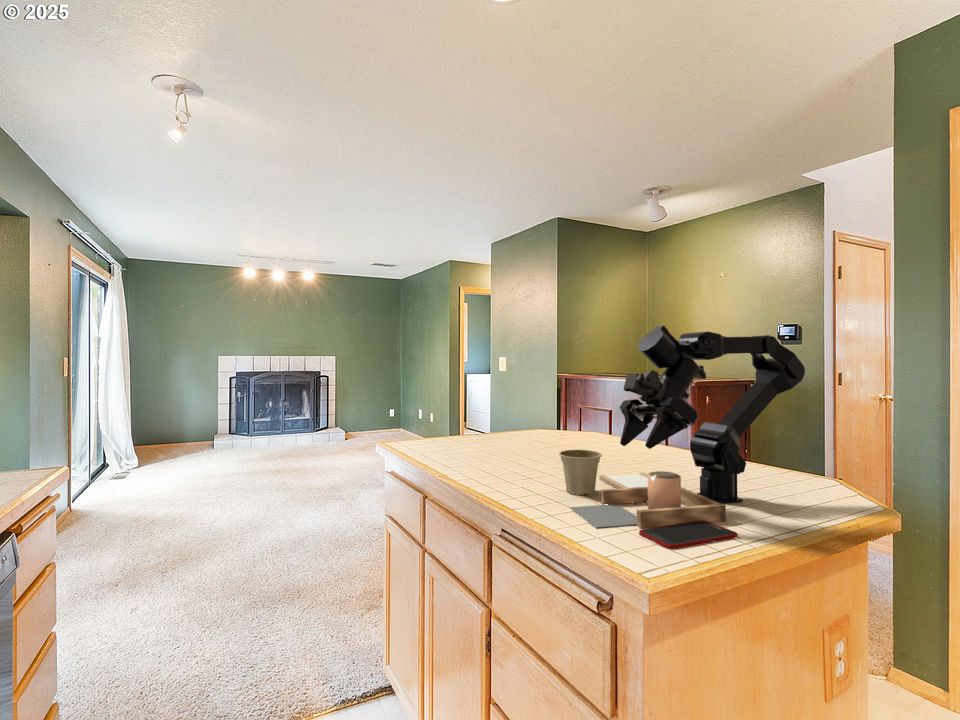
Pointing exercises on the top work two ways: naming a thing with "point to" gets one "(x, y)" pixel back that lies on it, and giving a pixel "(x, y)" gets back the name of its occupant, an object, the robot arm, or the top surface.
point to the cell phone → (687, 534)
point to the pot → (664, 490)
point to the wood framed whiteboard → (626, 480)
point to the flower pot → (580, 470)
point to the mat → (606, 515)
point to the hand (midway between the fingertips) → (634, 446)
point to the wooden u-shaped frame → (693, 510)
